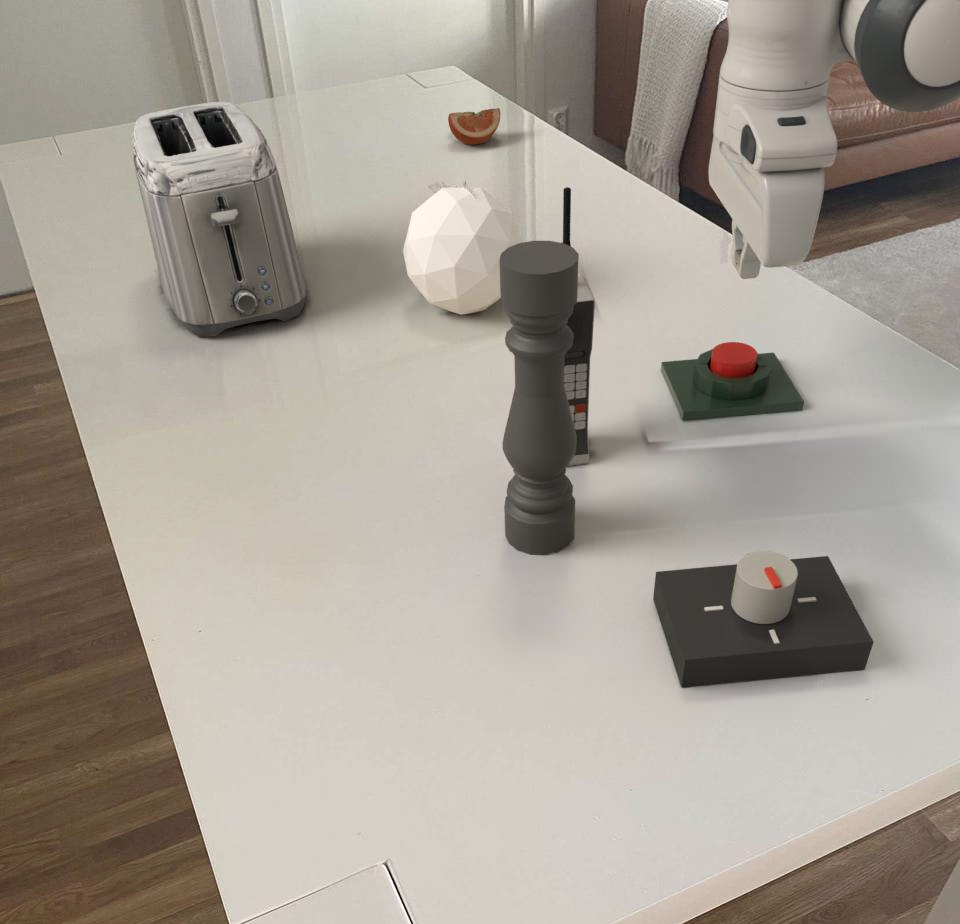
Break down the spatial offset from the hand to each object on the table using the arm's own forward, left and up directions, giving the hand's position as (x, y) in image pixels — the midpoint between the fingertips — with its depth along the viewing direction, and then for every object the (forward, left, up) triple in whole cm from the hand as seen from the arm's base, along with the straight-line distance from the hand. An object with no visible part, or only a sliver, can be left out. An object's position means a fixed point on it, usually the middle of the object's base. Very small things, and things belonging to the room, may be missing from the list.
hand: (744, 272), depth 94 cm
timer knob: (+7, +34, -10) cm, 36 cm away
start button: (0, 0, -10) cm, 10 cm away
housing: (0, 0, -14) cm, 14 cm away
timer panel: (+7, +34, -14) cm, 37 cm away
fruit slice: (+19, -82, -14) cm, 85 cm away
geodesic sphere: (+25, -26, -14) cm, 38 cm away
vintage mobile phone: (+18, +7, -14) cm, 24 cm away
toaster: (+54, -36, -14) cm, 66 cm away
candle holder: (+22, +19, -14) cm, 32 cm away
